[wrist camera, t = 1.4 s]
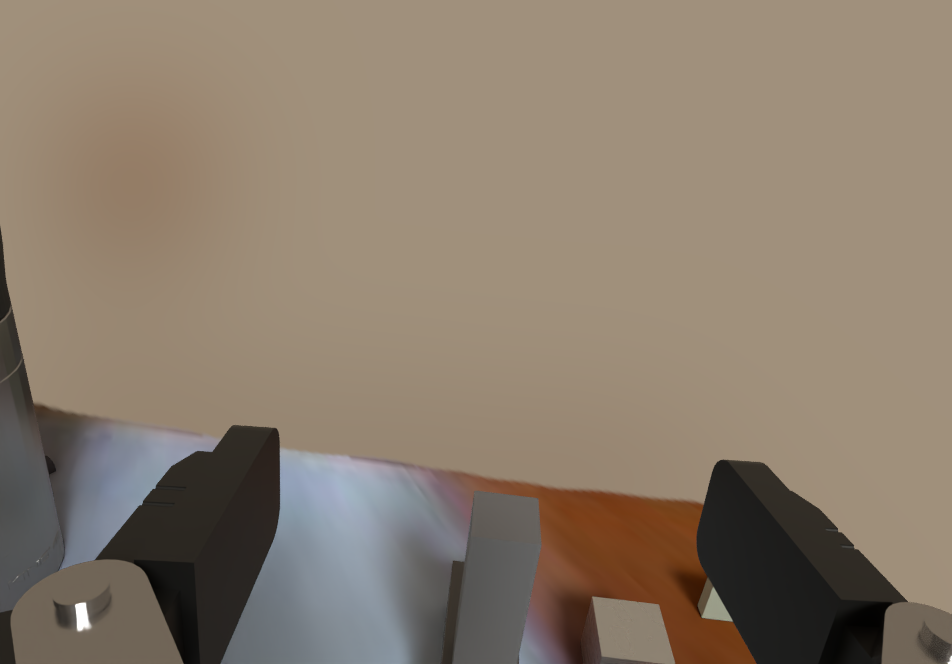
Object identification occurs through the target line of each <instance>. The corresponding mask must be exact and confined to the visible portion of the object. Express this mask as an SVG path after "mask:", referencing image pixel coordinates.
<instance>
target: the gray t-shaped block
mask: <svg viewBox="0 0 952 664" xmlns="http://www.w3.org/2000/svg"><path fill="white" fill-rule="evenodd" d="M540 549H541V533H540V519H539V504H538V498H531V497H523V496H515V495H507V494H498V493H490V492H482V491H475V492H474V499H473V506H472V513H471V520H470V527H469V535H468V542H467V549H466V556H465V562H460V561H453V565H452V573H451V580H450V588H449V596H448V603H447V612H446V621H445V630H444V639H443V648H442V657H441V664H519V651H520V646H521V641H522V636H523V631H524V626H525V621H526V617H527V612H528V607H529V602H530V597H531V592H532V588H533V583H534V578H535V573H536V568H537V563H538V559H539V554H540Z"/></svg>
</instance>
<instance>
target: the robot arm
mask: <svg viewBox="0 0 952 664" xmlns="http://www.w3.org/2000/svg"><path fill="white" fill-rule="evenodd" d="M279 511H280V441H279V433H278V430H277V429H276V428H268V427H253V426H239V425H233V426H231V428H230V429H229V430H228V431H227V433H226V434H225V436H224V437H223V438H222V440H221V441H220V442H219V444H218V445H217V446H216V448H215V449H214V451H213V452H204V451H196V452H195V453H193V454H191V455H190V456H188V457H186V458H185V459H183V460H181V461H180V462H178V463H176V464H175V465H173V466H171V468H170V469H169V470H168V471H167V472H166V474H165V475H164V476H163V477H162V479H161V480H160V481H159V482H158V483H157V485H156V489H153V490H152V491H151V492H150V493H149V494H148V496H147V497H146V498H145V499H144V501H143V504H142V505H139V507H138V508H137V509H136V510H135V511H134V513H133V514H132V515H131V516H130V518H129V519H128V520H127V521H126V522H125V524H124V525H123V526H122V527H121V529H120V530H119V531H118V532H117V533H116V535H115V536H114V537H113V538H112V539H111V541H110V542H109V543H108V544H107V546H106V547H105V548H104V549H103V550H102V552H101V553H100V554H99V555H98V557H97V558H96V559H95V560H94V561H89V562H84V563H80V564H76V565H73V566H70V567H67V568H64V569H62V570H60V571H58V569H59V567H60V565H61V562H62V560H63V556H64V544H63V539H62V534H61V530H60V525H59V521H58V516H57V511H56V507H55V502H54V496H53V491H52V487H51V482H50V478H49V473H48V469H47V464H46V459H45V455H44V450H43V446H42V441H41V437H40V432H39V427H38V423H37V418H36V414H35V409H34V405H33V400H32V396H31V391H30V387H29V382H28V377H27V373H26V368H25V364H24V359H23V354H22V351H21V346H20V342H19V337H18V333H17V328H16V324H15V319H14V314H13V310H12V305H11V301H10V297H9V293H8V288H7V284H6V277H5V265H4V254H3V242H2V235H1V229H0V664H220V663H221V661H222V658H223V656H224V654H225V651H226V649H227V647H228V644H229V642H230V640H231V638H232V635H233V633H234V631H235V628H236V626H237V624H238V621H239V619H240V617H241V614H242V612H243V610H244V607H245V605H246V603H247V600H248V598H249V596H250V593H251V591H252V589H253V586H254V584H255V582H256V579H257V577H258V575H259V572H260V570H261V568H262V565H263V563H264V561H265V558H266V556H267V554H268V551H269V549H270V547H271V544H272V542H273V540H274V537H275V533H276V529H277V525H278V519H279ZM697 552H698V557H699V560H700V563H701V565H702V567H703V569H704V571H705V573H706V575H707V576H708V578H709V580H710V582H711V583H712V585H713V587H714V589H715V590H716V592H717V594H718V596H719V598H720V599H721V601H722V603H723V605H724V606H725V608H726V610H727V612H728V613H729V615H730V617H731V619H732V621H733V622H734V624H735V626H736V628H737V629H738V631H739V633H740V635H741V636H742V638H743V640H744V642H745V643H746V645H747V647H748V649H749V651H750V652H751V654H752V656H753V658H754V659H755V661H756V663H757V664H952V614H949V613H947V612H945V611H942V610H940V609H937V608H934V607H931V606H928V605H923V604H918V603H912V602H911V603H910V602H908V601H907V600H906V599H905V598H904V597H903V596H902V595H901V594H900V593H899V592H898V591H897V590H896V589H895V588H894V587H893V586H892V585H891V584H890V582H888V580H887V579H886V578H885V577H884V576H883V575H882V574H881V573H880V572H879V571H878V570H877V569H876V568H875V567H874V566H873V565H872V564H871V563H870V561H869V560H868V559H867V558H866V557H865V556H864V555H863V554H862V553H861V552H860V551H859V550H857V549H854V545H853V544H852V543H851V542H850V541H849V540H848V539H847V538H846V536H845V535H844V534H842V533H840V532H838V528H837V527H836V526H835V525H834V524H833V523H832V522H831V521H830V520H829V519H828V518H827V517H826V515H825V514H824V513H822V511H821V510H820V509H819V508H817V507H815V506H814V505H812V504H811V503H809V502H808V501H806V500H805V499H803V498H802V497H800V496H799V495H797V494H796V493H794V492H792V491H790V490H789V489H788V488H787V487H786V486H785V485H784V484H783V483H782V482H781V480H780V479H779V478H778V477H777V476H776V475H775V474H774V473H773V472H772V471H771V470H770V469H769V467H768V466H766V465H765V464H764V463H761V462H749V461H734V460H720V461H719V462H717V463H716V465H715V466H714V469H713V472H712V475H711V479H710V483H709V487H708V491H707V495H706V499H705V503H704V506H703V510H702V514H701V518H700V522H699V526H698V531H697ZM57 571H58V572H57Z"/></svg>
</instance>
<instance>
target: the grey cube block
mask: <svg viewBox="0 0 952 664" xmlns="http://www.w3.org/2000/svg"><path fill="white" fill-rule="evenodd" d="M580 644H581V652H582V660H583V664H675V661H674V658H673V654H672V650H671V647H670V643H669V640H668V636H667V633H666V629H665V625H664V622H663V618H662V615H661V611H660V608H659V605H658V604H650V603H642V602H634V601H625V600H617V599H609V598H600V597H592V599H591V603H590V607H589V611H588V615H587V618H586V622H585V626H584V630H583V634H582V637H581V641H580Z"/></svg>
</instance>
